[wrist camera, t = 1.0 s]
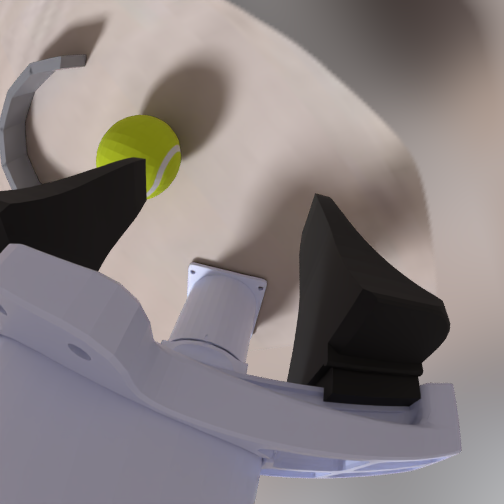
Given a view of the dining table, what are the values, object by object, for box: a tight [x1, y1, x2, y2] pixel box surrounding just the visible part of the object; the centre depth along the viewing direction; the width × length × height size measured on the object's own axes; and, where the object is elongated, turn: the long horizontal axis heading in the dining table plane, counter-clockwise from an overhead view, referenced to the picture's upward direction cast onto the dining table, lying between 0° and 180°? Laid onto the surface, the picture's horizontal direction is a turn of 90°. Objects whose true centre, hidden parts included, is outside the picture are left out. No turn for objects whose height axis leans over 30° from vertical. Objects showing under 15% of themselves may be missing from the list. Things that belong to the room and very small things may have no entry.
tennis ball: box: [96, 115, 181, 199], centre depth 19 cm, size 7×7×7 cm
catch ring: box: [0, 55, 86, 190], centre depth 21 cm, size 17×11×4 cm, turn 170°
